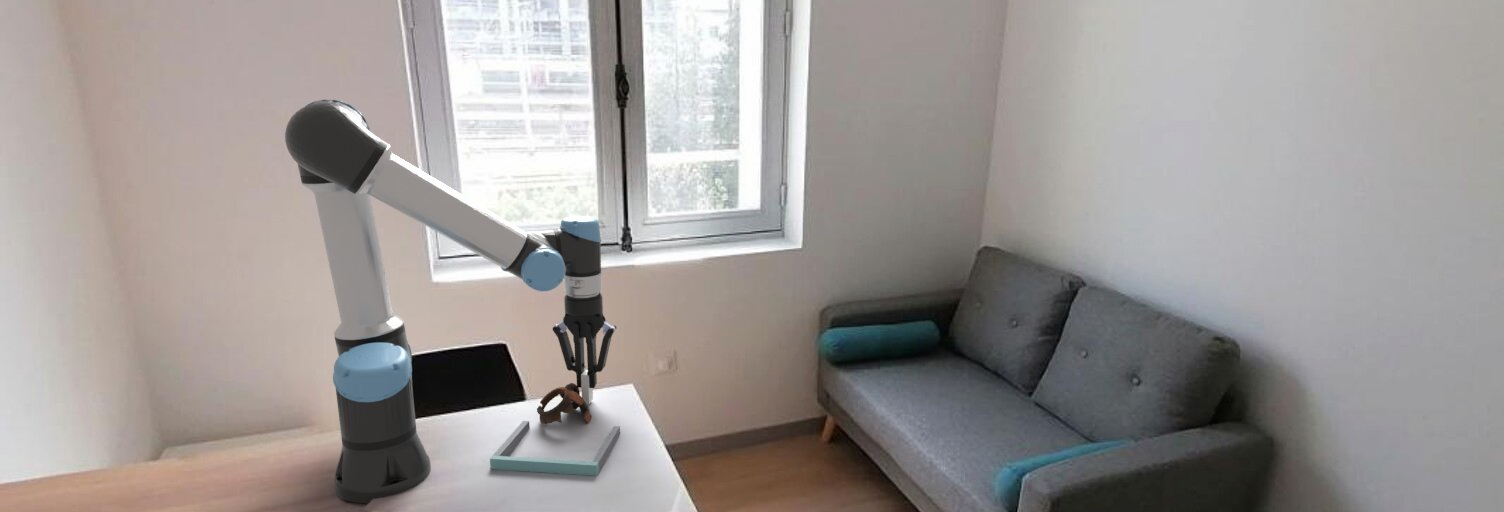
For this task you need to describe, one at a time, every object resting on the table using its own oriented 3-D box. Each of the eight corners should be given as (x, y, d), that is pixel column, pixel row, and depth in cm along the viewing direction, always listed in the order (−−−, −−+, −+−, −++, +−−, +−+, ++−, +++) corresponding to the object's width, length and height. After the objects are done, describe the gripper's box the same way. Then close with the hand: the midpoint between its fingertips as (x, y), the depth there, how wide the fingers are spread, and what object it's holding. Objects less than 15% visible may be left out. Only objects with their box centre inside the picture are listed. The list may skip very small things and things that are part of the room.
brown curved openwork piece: (591, 434, 153) (568, 406, 150) (551, 451, 155) (527, 424, 151) (599, 393, 164) (578, 366, 160) (561, 410, 166) (539, 383, 162)
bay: (490, 469, 139) (489, 458, 139) (523, 430, 154) (523, 420, 154) (597, 475, 137) (596, 465, 137) (620, 435, 152) (619, 426, 152)
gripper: (545, 297, 155) (551, 407, 160) (609, 299, 154) (613, 410, 159) (557, 286, 162) (562, 392, 168) (619, 289, 161) (622, 395, 166)
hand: (587, 401), depth 163 cm, fingers closed
